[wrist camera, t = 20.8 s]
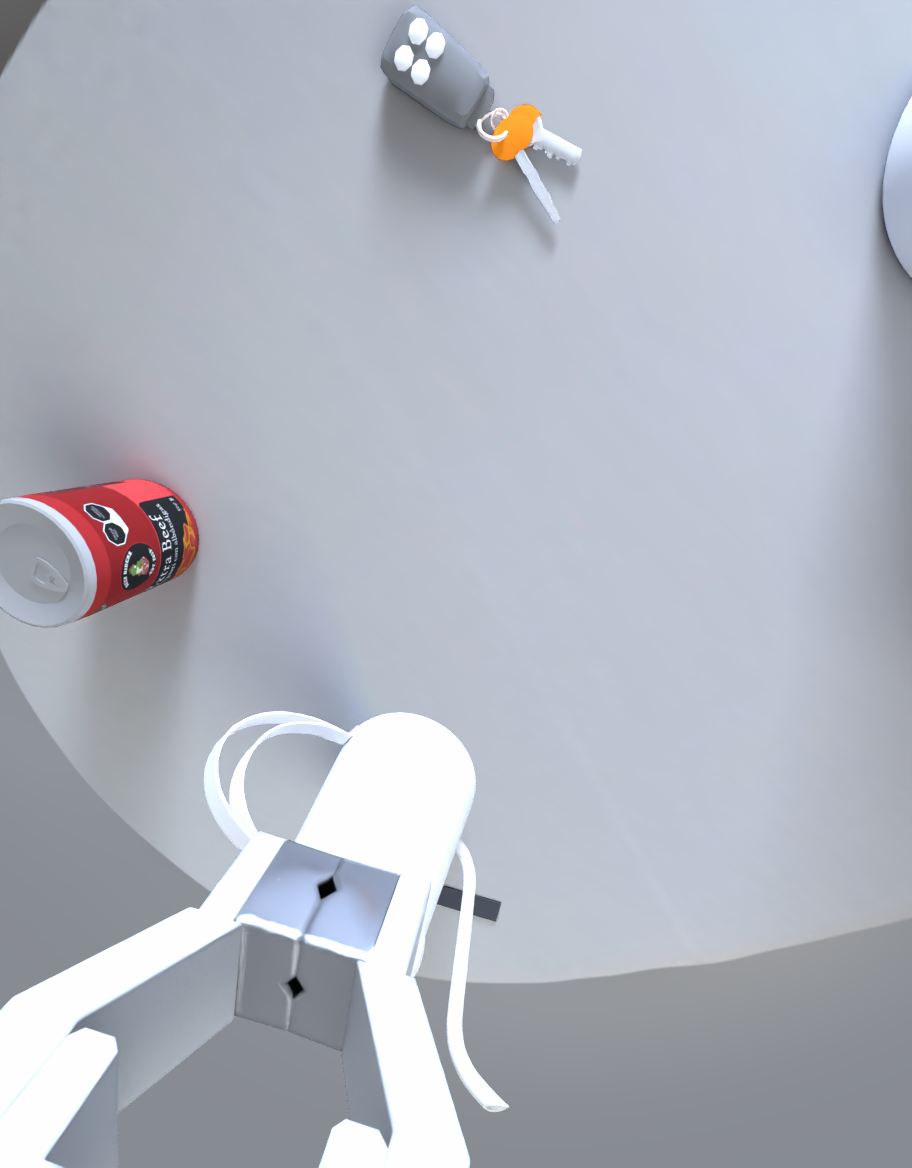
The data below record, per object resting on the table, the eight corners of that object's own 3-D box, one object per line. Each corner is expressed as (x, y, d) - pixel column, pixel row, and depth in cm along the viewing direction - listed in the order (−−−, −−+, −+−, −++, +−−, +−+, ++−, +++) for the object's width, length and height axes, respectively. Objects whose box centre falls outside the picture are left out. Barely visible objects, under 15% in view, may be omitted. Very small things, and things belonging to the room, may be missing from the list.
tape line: (500, 902, 48) (500, 903, 48) (495, 920, 48) (495, 921, 48) (297, 842, 50) (296, 843, 50) (295, 860, 50) (294, 861, 50)
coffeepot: (479, 908, 48) (430, 1198, 31) (258, 706, 46) (69, 889, 29) (575, 841, 45) (584, 1124, 27) (340, 620, 43) (183, 767, 25)
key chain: (378, 80, 33) (370, 66, 31) (415, 11, 31) (409, -8, 30) (556, 226, 33) (556, 218, 32) (600, 163, 32) (601, 152, 31)
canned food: (196, 591, 44) (84, 646, 34) (103, 560, 45) (-35, 604, 35) (209, 496, 42) (92, 524, 31) (110, 464, 43) (-36, 481, 32)
